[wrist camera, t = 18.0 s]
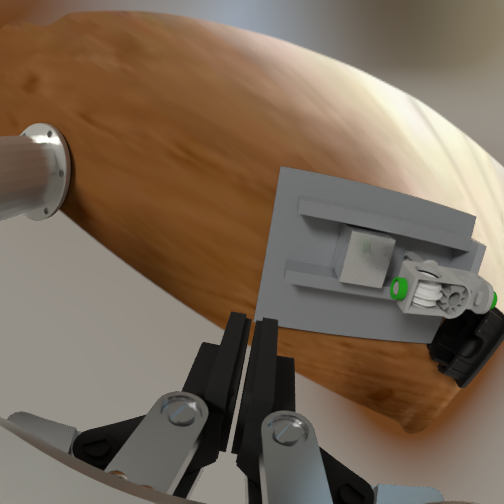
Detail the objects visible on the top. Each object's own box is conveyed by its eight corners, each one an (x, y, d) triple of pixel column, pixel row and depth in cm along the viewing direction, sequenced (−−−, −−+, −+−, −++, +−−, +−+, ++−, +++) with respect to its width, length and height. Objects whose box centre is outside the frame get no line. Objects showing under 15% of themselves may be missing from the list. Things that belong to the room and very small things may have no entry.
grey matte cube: (331, 264, 27) (339, 281, 24) (342, 220, 26) (352, 230, 22) (369, 271, 27) (381, 288, 23) (381, 228, 26) (395, 240, 22)
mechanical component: (442, 276, 27) (490, 321, 17) (359, 263, 27) (393, 313, 18) (449, 250, 26) (503, 288, 16) (366, 234, 26) (406, 273, 17)
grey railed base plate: (254, 316, 31) (249, 343, 27) (280, 166, 26) (280, 167, 21) (427, 338, 30) (443, 362, 26) (470, 214, 25) (497, 225, 20)
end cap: (452, 362, 31) (471, 392, 25) (422, 348, 31) (441, 382, 25) (493, 304, 28) (520, 329, 22) (467, 284, 28) (496, 310, 22)
